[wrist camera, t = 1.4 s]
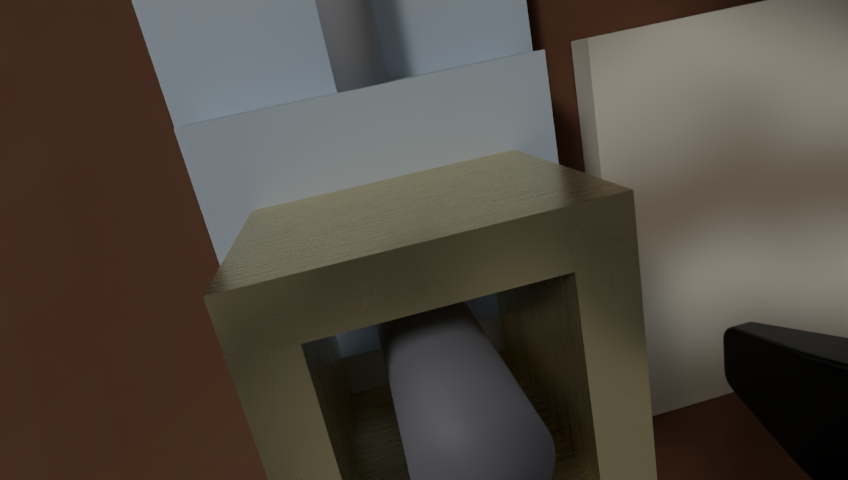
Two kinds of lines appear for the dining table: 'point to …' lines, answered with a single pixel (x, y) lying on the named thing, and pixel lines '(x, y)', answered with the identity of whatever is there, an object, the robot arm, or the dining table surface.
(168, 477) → the dining table surface
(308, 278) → the brass sleeve
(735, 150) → the birch pad
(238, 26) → the vise
